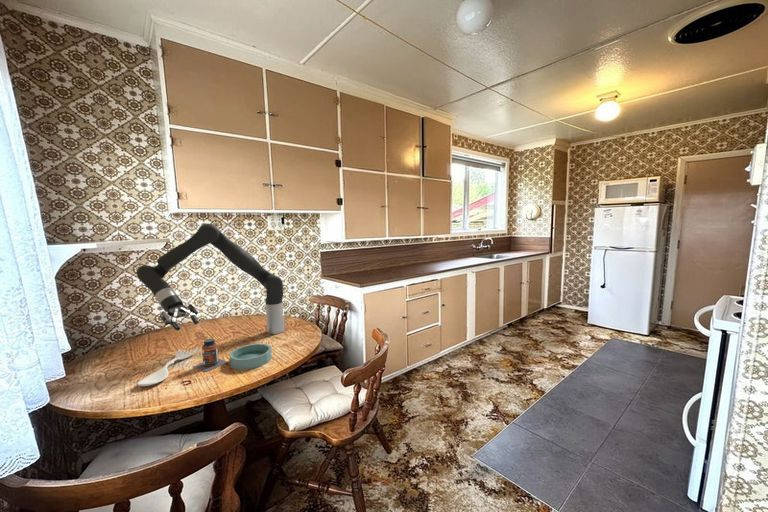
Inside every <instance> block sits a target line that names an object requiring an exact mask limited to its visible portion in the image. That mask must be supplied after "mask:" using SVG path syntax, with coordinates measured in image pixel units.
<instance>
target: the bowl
mask: <svg viewBox="0 0 768 512" xmlns="http://www.w3.org/2000/svg"><path fill="white" fill-rule="evenodd" d="M272 358H273V356H272V346H271V345H270V344H266V343H252V344H247V345H242V346H240V347H238V348H235V349H234V350H232V351H231V352H230V354H229V365H230V367H231V368H232V369H234V370H238V371H239V370H243V371H245V370H252V369H253V370H254V369H256V368H261V367H263V366H264V365H266V364H268V363H269V362H270V361H271V360H272Z"/></svg>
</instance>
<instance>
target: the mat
mask: <svg viewBox="0 0 768 512" xmlns="http://www.w3.org/2000/svg"><path fill="white" fill-rule="evenodd" d="M226 364H229V361H227V360H224V359H221V358H218V363H217V364H216V365H214V366H211V367H205V366H203V362H201V363H198V364H197V365H194V366H192V368H194V369H197V370H199V371H202V372H205V373H208V372H210V371H213V370H215V369H216V368H220V367H221V366H224V365H226Z"/></svg>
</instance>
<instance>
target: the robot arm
mask: <svg viewBox="0 0 768 512" xmlns="http://www.w3.org/2000/svg"><path fill="white" fill-rule="evenodd" d="M209 244H210V245H212V246H214V247H215V248H216V249H217V250H219V251H220V252H221V253H222V255H224V257H225V258H226V259H227V260H229V262H231V263H232V265H234V266H235V267H237V269H240V271H243V272H244V273H245V274H247V275H249V276H250V277H253V279H255V280H256V281H257V282H258V283H259V284H260V285H262V286H263V287H264V288H265V290H266V297H265V299H264V301H265V302H264V303H265V315H266V330H267V334H268V335H278V334H282V333H283V332H284V331H285V330H286V317H285V314H284V306H283V305H284V304H283V302H284V301H283V299H284V282H283V279H282V278H281V277H279V276H278V275H275V274H273V273H271V272H270V271H268V270H267V269H266V268H265V267H263V266H262V264H261V263H259V261H258V260H257V259H256V258H255V257H254V256H252V255H251V253H249V252H248V251H247V250H245V249H244V248H242V247H241V246H240V245H238V244H237V243H235V242H234V241H232V240H231V239H230V238H228V237H227V236H226V235H225V234H224V233H223V232H222V231H221V229H219V228H218V227H217V226H216V225H215V224H212V223H209V222H208V223H203V224H201V225H200V226H199V227H198V230H197V231H196V232H195V233H194V234H193V235H192V236H191V237H190V238H188V239H187V240H186V241H183V242H182V243H181V244H179V245H177V246H175V247H173V248H171V249H170V250H169V251H166V252H165V253H164V254H163V255H161V256H160V257H158V258H157V260H156V263H157V264H156V266H155V267H154V266H151V265H148V264H147V265H146V264H145V265H144V264H143V265H141V266H139V267H138V268H137V270H136V277H137V279H138V280H139V281H140V282H141V283H142V284H143V285H145V286H146V288H148V289H149V290H150V291H151V293H152V294H153V296H154V297H155V298H156V301H157V302H158V304H159V305H160V307H161V308H162V310H163V311H161V313H160V314H159V317H160V318H161V320H162V322H163V323H164V325H165V326H168V325H171V326H172V327H173V329H174V330H175V331H180V330H181V328H182V327H181V325H180V324H179V322H178V321H176V320H177V319H180V318H183V317H185V318H189V319H191V322H192V323H193V324H194V325H198V324H199V323H200V321H199V319H198V317H197V316H198V314H199V311H198V310H197V309H196V308H195V307H194V305H192V303H190V304H188V305H184V302H183V301H182V299H181V298H180V297H179V296H178V294H177V293H176V291H174V289H173V288H172V287H171V286H170V285H169V283H168V282H167V281H166V280H165V279H163V278H165V276H166V275H167V274H169V272H170V270H171V269H173V268H174V267H176V266H177V265H179V264H180V263H182V261H184V260H185V259H187V258H188V257H189V256H190V255H192V254H193V253H195V252H197V251H198V250H200V249H202V248H203V247H205V246H207V245H209ZM169 316H170V317H169Z"/></svg>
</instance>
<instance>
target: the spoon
mask: <svg viewBox="0 0 768 512" xmlns="http://www.w3.org/2000/svg"><path fill="white" fill-rule="evenodd" d="M198 350H199V347H196V348H194V349H191V350H190V351H189V349H188V350H187V351H186V350H184V349H181V348H179V349H178V350H177V352H176V354H175V356H174V358H173V359H171V360H169V361H168V362H165V365H164V366H163V367H161V368H160V369H158V370H156V371H155V372H153V373H151V374H149V375H147V376H145V377H144V378H142V379H141V380H139V381H138V382H136V384H137V386H139V387H148V386H153V385H156V384H159V383H160V382H162V381H164V380H166V379H167V378H168V377H169V370H168V367H169V366H171V365H174V363H175V361H182V360H185V359H188V358H190V357H191V356H193V355H194V354H195V353H196V352H197V351H198Z"/></svg>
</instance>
